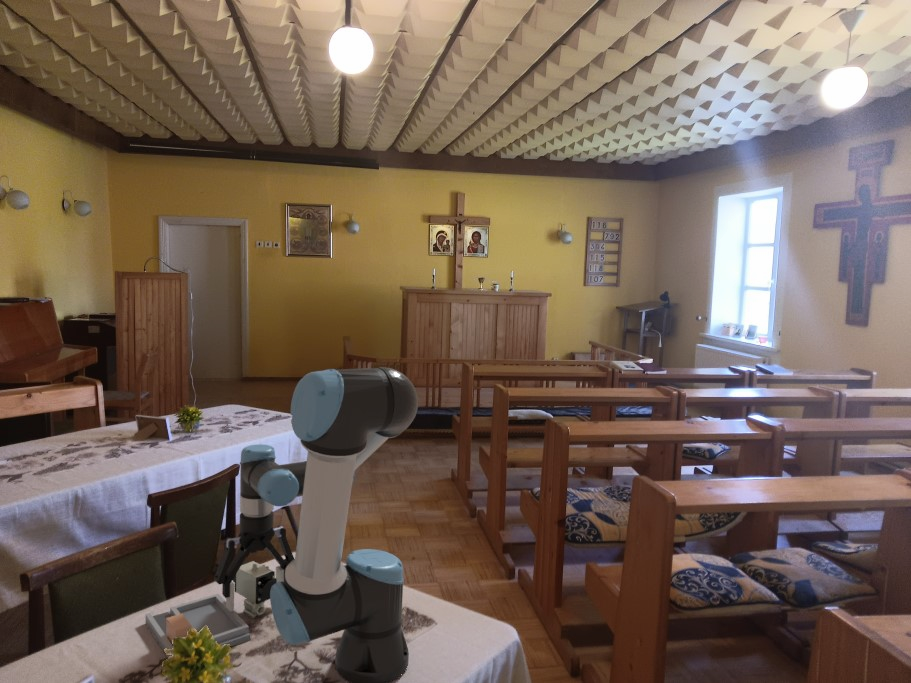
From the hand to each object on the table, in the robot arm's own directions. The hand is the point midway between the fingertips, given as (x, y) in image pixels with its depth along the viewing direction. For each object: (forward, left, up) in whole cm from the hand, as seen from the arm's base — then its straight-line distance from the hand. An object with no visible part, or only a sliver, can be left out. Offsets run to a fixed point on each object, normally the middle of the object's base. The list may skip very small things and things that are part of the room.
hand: (255, 601), depth 148 cm
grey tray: (0, +13, -3) cm, 14 cm away
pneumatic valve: (0, 0, -3) cm, 3 cm away
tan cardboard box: (-4, +18, -1) cm, 19 cm away
